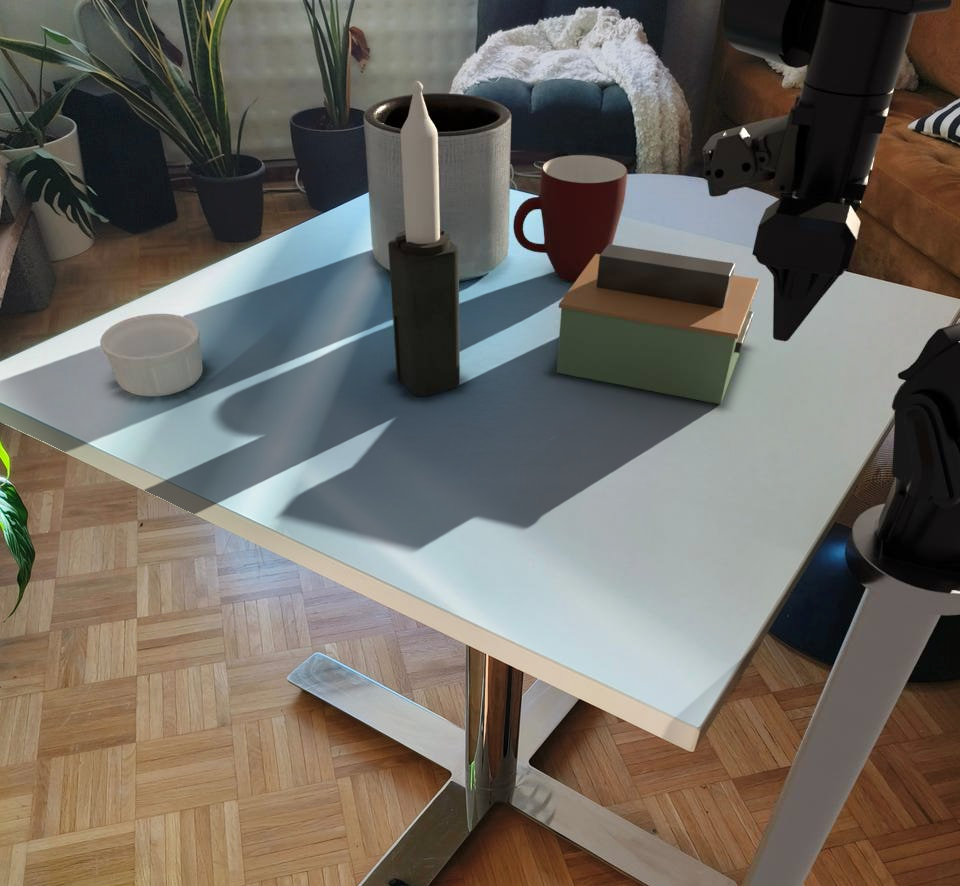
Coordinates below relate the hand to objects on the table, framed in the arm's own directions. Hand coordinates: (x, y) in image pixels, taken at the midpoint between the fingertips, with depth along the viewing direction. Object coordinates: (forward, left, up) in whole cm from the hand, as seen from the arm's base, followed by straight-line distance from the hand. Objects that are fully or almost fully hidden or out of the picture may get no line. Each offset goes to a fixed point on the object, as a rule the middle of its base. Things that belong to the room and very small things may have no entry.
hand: (788, 314), depth 70 cm
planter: (+41, -27, -12) cm, 51 cm away
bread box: (+12, -12, -12) cm, 21 cm away
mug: (+26, -28, -12) cm, 40 cm away
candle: (+31, 0, -12) cm, 33 cm away
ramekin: (+55, +9, -12) cm, 57 cm away
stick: (+12, -12, -5) cm, 18 cm away
